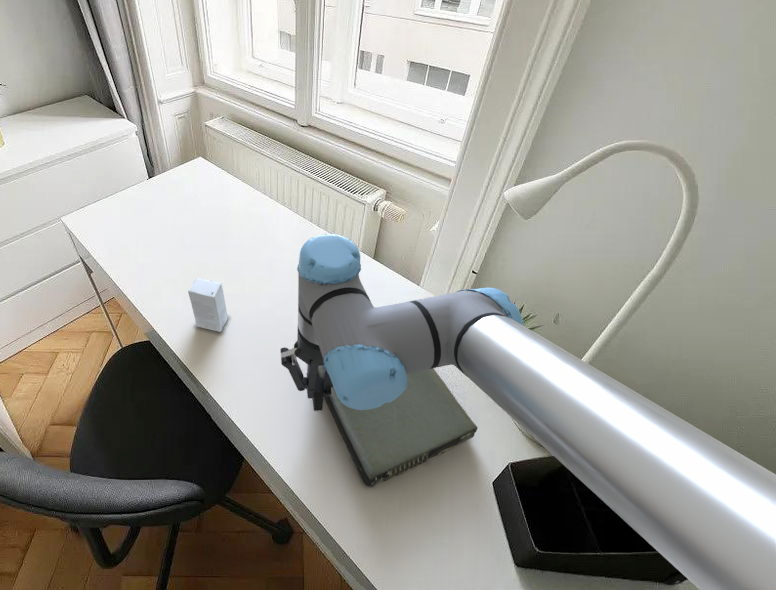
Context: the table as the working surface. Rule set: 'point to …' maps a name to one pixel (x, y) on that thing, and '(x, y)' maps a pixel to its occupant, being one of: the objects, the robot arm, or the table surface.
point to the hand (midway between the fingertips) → (317, 403)
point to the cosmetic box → (208, 304)
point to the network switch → (402, 427)
